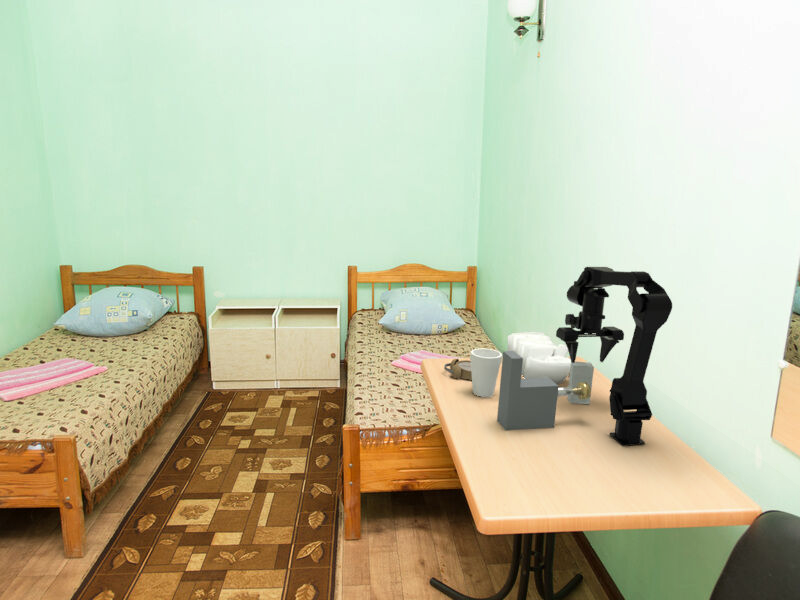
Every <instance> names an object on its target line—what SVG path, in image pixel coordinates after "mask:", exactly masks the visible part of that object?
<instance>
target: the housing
mask: <svg viewBox="0 0 800 600" xmlns="http://www.w3.org/2000/svg"><path fill="white" fill-rule="evenodd" d="M522 364H523V358H522V357H521V356H519V355H518V354H517V353H516V352H514V351H507V350H504V351H502V362H501V369H500V370H501V372H500V383H499V394H498V404H497V405H498V406H497V415H496V416H497V418H496V421H497V422H498V423H499V425H500V426H501V427H502V429H504V430H505V431H518V430H519V431H520V430H536V429H537V430H538V429H551V428H552V429H554V428H555V424H556V414H557V413H556V412H557V405H558V398H559V396H558V389H559V387H560V386H559V384H556V383H555V382H553V381H552V380H551V379H550V378H527V379H524V378H522V376H521V374H522Z"/></svg>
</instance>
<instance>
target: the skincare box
mask: <svg viewBox="0 0 800 600" xmlns="http://www.w3.org/2000/svg"><path fill="white" fill-rule="evenodd" d="M594 370H595V366H594V365H593V363H592V362H590V361H575V362H574V363H572V362H571V367H570V377H569V376H568V378H569V379H568V386H567V387H576V386H577V384H578V383H579V382H587V383H588V384H589V386H590V389H591V390H592V387H593V378H594ZM591 395H592V394H591ZM591 395H590V397H589V399H579V398H578V396H566V397H567V401H568V402H569V404H577V405H578V404H579V405H590V404H591Z"/></svg>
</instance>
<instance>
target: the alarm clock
mask: <svg viewBox="0 0 800 600" xmlns="http://www.w3.org/2000/svg"><path fill="white" fill-rule="evenodd" d="M448 367H449V368H448ZM443 370H445V371H446V372H449V373H450V375H451V376H452V377H453V378H454V377H455V378H454V379H456V378H459V379H460V378H461V379H463V378H464V379H463V380H466V379H469V380H468V381H471V380H472V372H471V360H470V359H469V360H467V359H466V360H464V359H463V360H459V358H454V359H452V361H451V362H449V363H448V362H447V363H445V364H444V368H443Z"/></svg>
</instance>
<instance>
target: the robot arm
mask: <svg viewBox="0 0 800 600" xmlns="http://www.w3.org/2000/svg"><path fill="white" fill-rule="evenodd" d="M611 286H621V287H622V286H623V287H627V289H628V293H627V299H628V301H629V304H630V305H631V307H632V310H631V316H632V319H633V320H634V323H635V327H634V331H633V335H632V339H631V342H630V343H631V344H630V346H629V351H628V354H627V358H626V363H625V366H624V370H623V374H622V376H621V377H614V378H613V379H612V381H611V388H610V389H609V393H610V395H609V397H608V398H609V399H608V400H609V410H610V416H611V417H612V419H613V420H615V424H614V425H615V426H614V431H613V432H609V434H608V435H609V436H610V437H612V438H613V439H614V440H615V441H616V442H618V443H619V444H620V445H622V446H624V447H626V446H636V445H638V446H639V445H640V446H641V445H645V444H646V442H645V441H644V439H642V438H641V436H642V430H643V425H644V424H643V421H650V420H651V418H652V416H653V413H652V409H651V407H650V405H649V401H648V398H647V395H648V390H647V388H646V385H645V383H644V380H645V376H646V373H647V370H648V365H649V361H650V358H651V354H652V351H653V347H654V344H655V339H656V336H657V332H658V330H659V329H660V328H662V327H663V325H665V324H666V323H667V322H668V319H669V317H670V314H671V313H672V310H673V302H672V299H671V297H670V296H669V294H668V292H667V291H666V290H665V288H664V287H663V286H661V285H660V284H658V283H657V282H656V281H655V280H653V278H652V276H651V274H650V273H649V272H646V271H645V270H644V271H642V270H641V271H637V270H636V271H633V270H631V271H619V270H614V269H613V268H611V267H609V266H585V267H584V268H583V271H581V274H580V275H579V277H578V279H577V280H574V281H573V285H571V286H570V287H569V288H568V289H567V291H566V298H567V300H568V301H569V302H571V304H576V305H577V306H580V307H582V308H581V311H579V313H578V316H575V314H574V313H567V314H565V319H564V322H565V323H564V324H565V325H566V326H565V327H558V328H557V329H556V330H555V331H556V332H555V333H556V334H555V337H556V338H558V339H560V341H563V342H564V343H565V346H567V348H568V356H569V358H570V359H571V362H572V363H574V362H576V359H577V354H578V353H577V352H578V348H579V342H578V340H579V338H593V337H594V338H600V343H601V344H600V351H599V362H600V363H604V362H605V360H606V358H607V357H608V356H609V354H610V352H611V351H612V349H613V348H615V346H616V344H619V343H620V341H624V338H625V332H624V330H623V329H620V328H618V327H615V326H603V325H602V323H603V320H605V319H606V315H604V308H605V307H604V306H605V298H609V297H610V295H609V293H608V292H607V291H606V289H605V288H607V287H611ZM637 288H643V289H644V291H645V292H646V293H639V291H638V289H637ZM567 326H569V327H567ZM602 326H603V327H602ZM575 329H577V330H575Z"/></svg>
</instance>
